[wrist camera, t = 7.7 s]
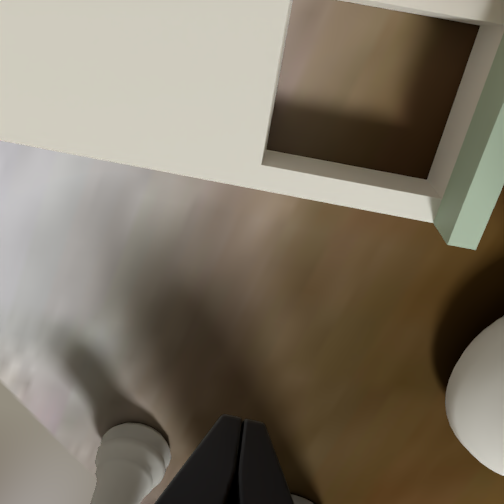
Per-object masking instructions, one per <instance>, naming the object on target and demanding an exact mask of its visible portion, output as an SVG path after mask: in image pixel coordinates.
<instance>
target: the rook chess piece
mask: <svg viewBox="0 0 504 504" xmlns="http://www.w3.org/2000/svg"><path fill="white" fill-rule="evenodd" d="M170 459H171V454H170V449H169V446H168V444H167V442H166V440H165V439H164V438H163V436H162V435H161V434H160V433H159V432H158V431H156V430H155V429H153V428H152V427H150V426H147V425H144V424H141V423H130V422H127V423H124V424H121V425H117V426H115V427H113V428H111V429H109V430H108V431H107V432H106V433H105V434H104V435H103V438H102V442H101V445H100V446H99V447H98V451H97V455H96V460H95V464H96V467H97V470H96V473H95V474H96V477H97V482H96V488H95V491H94V494H93V497H92V500H91V503H90V504H140V503H141V501H142V500H143V498H144V497H145V496H146V495H147V494H149V493H150V492H151V490H152V489H153V488H154V487H155V486H156V485H158V484H159V483H160V482H161V480H162V479H163V477H164V474H165V471H166V468H167V467H168V465H169V462H170Z"/></svg>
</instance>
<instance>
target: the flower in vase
mask: <svg viewBox="0 0 504 504" xmlns="http://www.w3.org/2000/svg"><path fill="white" fill-rule="evenodd" d="M445 405H446V414H447V417H448V421H449V424H450V426H451V428H452V430H453V432H454V434H455V435H456V437H457V438H458V439H459V441H460V442H461V443H462V444H463V446H464V447H465V448H466V449H467V450H468V451H469V452H470V453H471V454H472V455H473V456H474V457H475V458H476V459H477V460H479V461H480V462H481V463H482V464H484V465H485V466H486V467H488V468H489V469H491V470H493V471H495V472H496V473H498V474H500V475H503V476H504V316H503V317H501V318H499V319H498V320H496V321H495V322H493V323H492V324H491V325H489V326H488V327H487V328H485V329H484V330H483V331H482V332H481V333H480V334H479V335H478V336H477V337H476V338H474V339H473V341H472V342H471V343H470V344H469V346H468V347H467V348H466V349H465V351H464V352H463V354H462V355H461V357H460V359H459V360H458V362H457V364H456V365H455V367H454V369H453V371H452V374H451V376H450V378H449V381H448V385H447V389H446V399H445Z"/></svg>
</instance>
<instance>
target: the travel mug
mask: <svg viewBox="0 0 504 504" xmlns="http://www.w3.org/2000/svg"><path fill="white" fill-rule="evenodd" d="M291 496H292V498H293V501H294V504H314V503H312V502H311V501H309V500H307V499H305V498H302V497H299V496H296V495H293V494H291Z"/></svg>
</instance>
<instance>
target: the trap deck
mask: <svg viewBox="0 0 504 504" xmlns="http://www.w3.org/2000/svg"><path fill="white" fill-rule="evenodd" d="M340 1H346V2H351V3H357V4H363V5H368V6H374V7H379V8H385V9H390V10H396V11H402V12H407V13H413V14H418V15H424V16H430V17H435V18H441V19H446V20H452V21H458V22H463V23H469V24H474V25H480V28H479V31H478V33H477V36H476V39H475V42H474V45H473V48H472V51H471V54H470V57H469V59H468V62H467V65H466V68H465V71H464V74H463V77H462V80H461V82H460V85H459V88H458V91H457V94H456V97H455V100H454V103H453V106H452V108H451V111H450V114H449V117H448V120H447V123H446V126H445V129H444V132H443V134H442V137H441V140H440V143H439V146H438V149H437V152H436V155H435V157H434V160H433V163H432V166H431V169H430V172H429V175H428V178H427V180H426V179H420V178H415V177H410V176H404V175H399V174H394V173H388V172H383V171H378V170H372V169H367V168H362V167H357V166H351V165H346V164H341V163H335V162H330V161H325V160H319V159H314V158H309V157H303V156H298V155H293V154H287V153H282V152H277V151H271V150H266V149H267V143H268V137H269V132H270V126H271V120H272V115H273V109H274V103H275V98H276V92H277V86H278V81H279V75H280V69H281V64H282V58H283V53H284V47H285V41H286V36H287V30H288V24H289V19H290V13H291V7H292V2H293V0H0V141H5V142H11V143H16V144H21V145H26V146H32V147H37V148H42V149H47V150H53V151H58V152H63V153H68V154H74V155H79V156H84V157H89V158H95V159H100V160H105V161H110V162H116V163H121V164H126V165H131V166H137V167H142V168H147V169H152V170H158V171H163V172H168V173H173V174H179V175H184V176H189V177H194V178H200V179H205V180H210V181H215V182H221V183H226V184H231V185H236V186H242V187H247V188H252V189H258V190H263V191H268V192H273V193H279V194H284V195H289V196H294V197H300V198H305V199H310V200H315V201H321V202H326V203H331V204H336V205H342V206H347V207H352V208H357V209H363V210H368V211H373V212H378V213H384V214H389V215H394V216H399V217H405V218H410V219H415V220H420V221H426V222H431V223H434V225H435V226H436V228H437V229H438V231H439V232H440V234H441V236H442V237H443V239H444V240H445V242H446V243H447V245H452V246H458V247H463V248H468V249H473V250H476V248H477V246H478V243H479V241H480V239H481V236H482V234H483V232H484V229H485V227H486V225H487V222H488V220H489V218H490V215H491V213H492V211H493V208H494V206H495V204H496V201H497V199H498V197H499V194H500V192H501V190H502V187H503V185H504V0H340Z"/></svg>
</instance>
